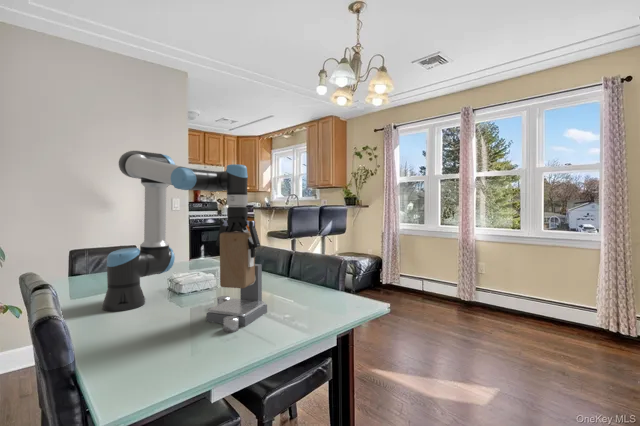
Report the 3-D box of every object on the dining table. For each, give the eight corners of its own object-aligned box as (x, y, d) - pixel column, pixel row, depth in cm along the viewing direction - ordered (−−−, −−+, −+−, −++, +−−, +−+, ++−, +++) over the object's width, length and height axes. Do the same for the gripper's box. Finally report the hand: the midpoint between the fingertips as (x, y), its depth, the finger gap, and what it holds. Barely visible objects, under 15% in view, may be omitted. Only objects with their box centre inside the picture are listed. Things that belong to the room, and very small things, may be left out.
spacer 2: (220, 331, 109) (220, 319, 109) (229, 326, 114) (229, 315, 114) (233, 333, 108) (233, 321, 108) (241, 328, 112) (241, 316, 112)
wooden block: (244, 289, 117) (244, 233, 117) (219, 287, 119) (218, 232, 119) (255, 282, 127) (255, 231, 127) (231, 281, 129) (231, 230, 129)
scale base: (206, 321, 119) (206, 271, 118) (236, 305, 137) (235, 262, 136) (245, 326, 114) (244, 274, 113) (270, 309, 132) (270, 265, 131)
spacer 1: (214, 308, 134) (214, 298, 134) (222, 304, 138) (222, 295, 138) (225, 309, 132) (225, 299, 132) (232, 305, 137) (232, 296, 137)
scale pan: (208, 319, 119) (208, 309, 119) (232, 307, 133) (232, 298, 133) (244, 324, 114) (244, 314, 114) (265, 311, 128) (265, 301, 128)
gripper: (205, 206, 123) (205, 265, 123) (259, 206, 115) (260, 269, 116) (217, 206, 130) (218, 262, 130) (269, 206, 122) (270, 265, 123)
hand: (237, 265), depth 123 cm, fingers closed on wooden block, 10 cm apart
